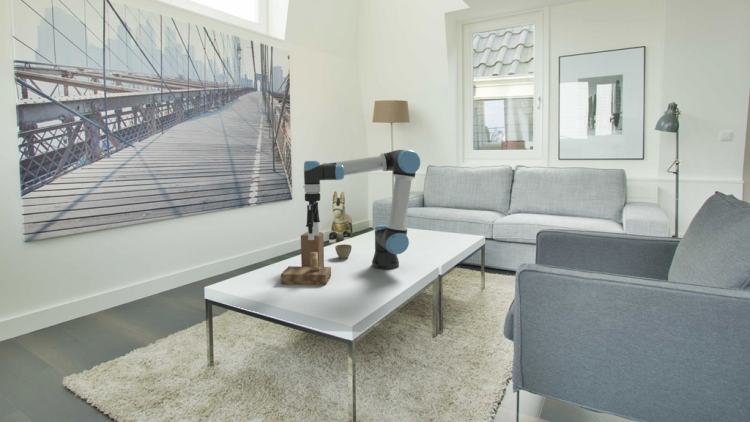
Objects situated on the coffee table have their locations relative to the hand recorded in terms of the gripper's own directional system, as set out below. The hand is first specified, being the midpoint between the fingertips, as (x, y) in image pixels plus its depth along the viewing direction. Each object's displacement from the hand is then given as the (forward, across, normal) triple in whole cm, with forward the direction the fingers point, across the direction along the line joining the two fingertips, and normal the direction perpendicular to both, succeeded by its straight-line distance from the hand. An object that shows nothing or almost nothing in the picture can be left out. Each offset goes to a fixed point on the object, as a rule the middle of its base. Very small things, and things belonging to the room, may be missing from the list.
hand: (313, 237), depth 212 cm
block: (+22, -19, -5) cm, 30 cm away
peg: (+22, 0, 0) cm, 22 cm away
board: (+22, 0, -4) cm, 22 cm away
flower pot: (+22, -45, +8) cm, 51 cm away
